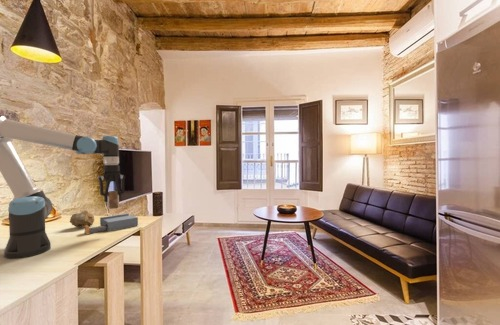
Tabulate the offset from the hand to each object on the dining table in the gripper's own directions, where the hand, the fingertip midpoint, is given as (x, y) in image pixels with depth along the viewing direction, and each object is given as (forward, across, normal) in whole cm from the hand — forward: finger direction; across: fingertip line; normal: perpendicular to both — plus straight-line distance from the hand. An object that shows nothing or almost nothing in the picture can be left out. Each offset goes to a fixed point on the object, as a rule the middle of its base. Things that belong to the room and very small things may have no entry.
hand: (113, 207), depth 136 cm
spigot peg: (0, 0, 0) cm, 0 cm away
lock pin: (+14, -5, +9) cm, 17 cm away
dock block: (+14, +6, +15) cm, 21 cm away
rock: (+14, -10, +27) cm, 32 cm away
